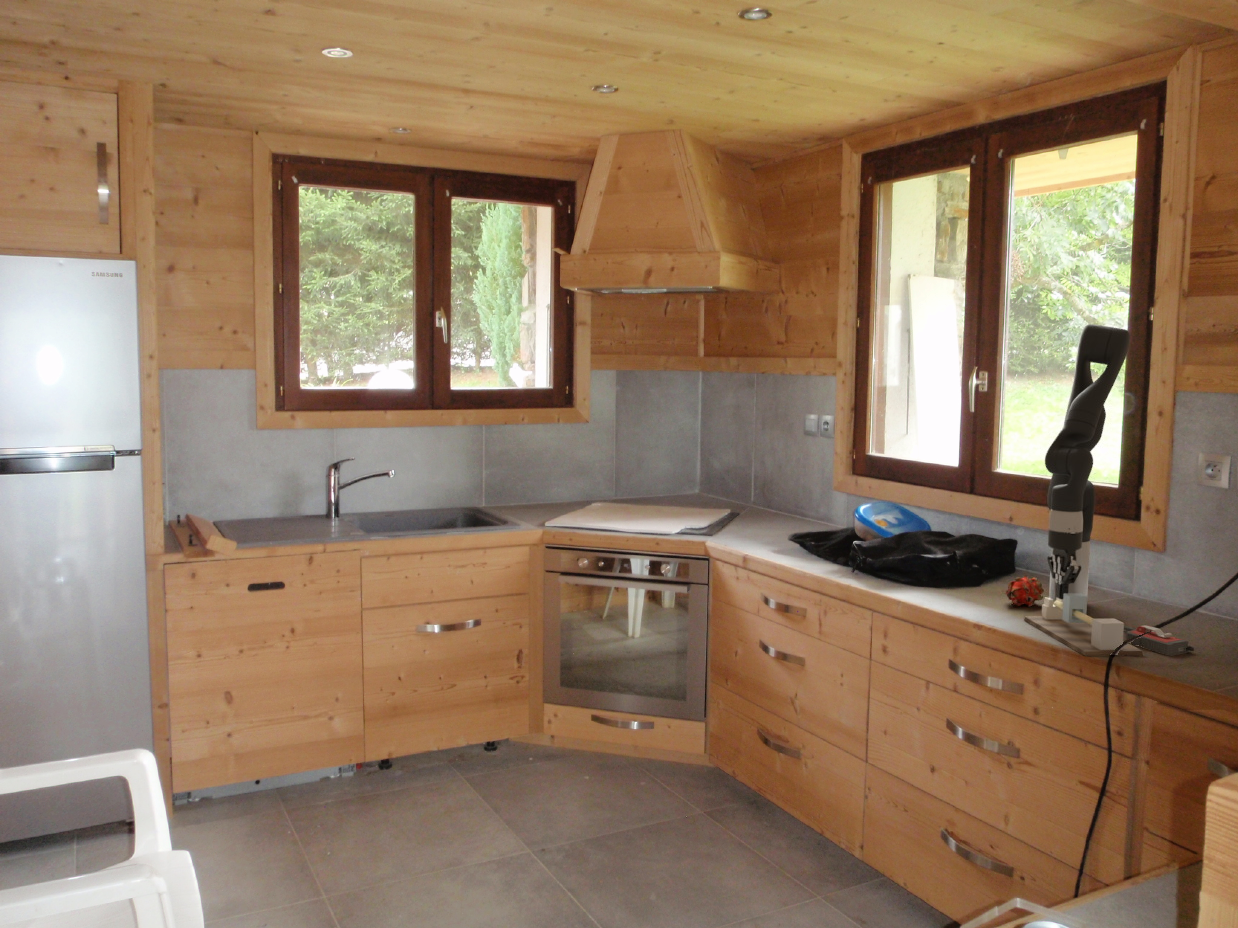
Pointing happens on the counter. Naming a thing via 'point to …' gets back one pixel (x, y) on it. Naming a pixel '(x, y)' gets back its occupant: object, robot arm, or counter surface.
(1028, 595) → the dragon fruit
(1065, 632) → the board
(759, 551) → the counter surface
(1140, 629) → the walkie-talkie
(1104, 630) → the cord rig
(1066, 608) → the sleeve
